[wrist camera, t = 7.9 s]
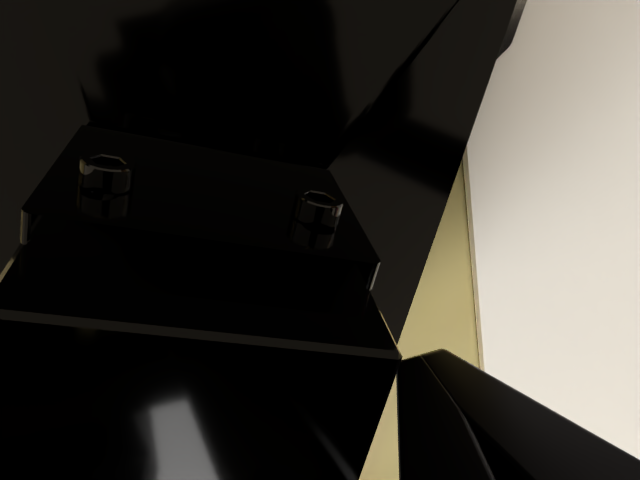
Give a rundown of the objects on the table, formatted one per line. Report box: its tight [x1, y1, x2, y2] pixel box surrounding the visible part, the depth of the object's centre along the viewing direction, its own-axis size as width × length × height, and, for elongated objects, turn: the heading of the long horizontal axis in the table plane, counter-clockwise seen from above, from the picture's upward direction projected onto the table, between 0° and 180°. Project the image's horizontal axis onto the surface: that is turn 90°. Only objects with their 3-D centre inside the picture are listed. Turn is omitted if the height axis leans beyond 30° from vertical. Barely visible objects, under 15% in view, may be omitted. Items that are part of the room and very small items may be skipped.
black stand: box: [0, 0, 527, 480], centre depth 7 cm, size 12×7×5 cm, turn 166°
